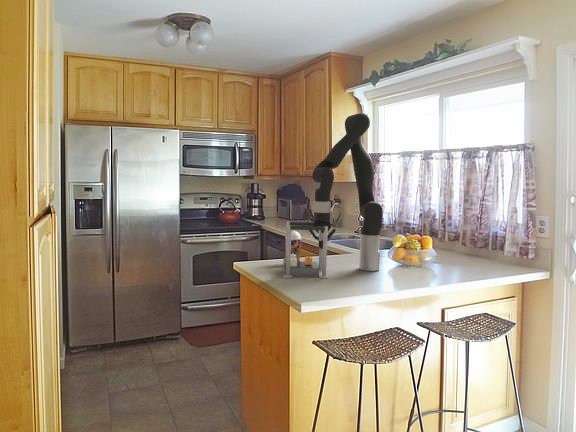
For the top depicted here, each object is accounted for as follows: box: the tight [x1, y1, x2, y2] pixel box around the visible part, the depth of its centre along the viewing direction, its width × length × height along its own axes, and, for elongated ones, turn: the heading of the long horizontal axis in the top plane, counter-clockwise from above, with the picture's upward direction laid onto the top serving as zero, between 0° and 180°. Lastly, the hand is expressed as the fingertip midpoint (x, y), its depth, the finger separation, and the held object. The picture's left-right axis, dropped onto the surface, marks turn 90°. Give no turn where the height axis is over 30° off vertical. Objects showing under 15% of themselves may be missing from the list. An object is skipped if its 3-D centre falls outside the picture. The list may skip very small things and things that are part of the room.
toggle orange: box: [304, 255, 313, 265], centre depth 206 cm, size 3×3×4 cm
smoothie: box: [284, 225, 303, 261], centre depth 223 cm, size 8×8×20 cm
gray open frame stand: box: [282, 221, 329, 280], centre depth 205 cm, size 20×20×23 cm
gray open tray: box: [282, 257, 320, 278], centre depth 206 cm, size 16×14×6 cm
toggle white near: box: [290, 258, 297, 266], centre depth 201 cm, size 3×3×4 cm
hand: (321, 248), depth 206 cm, fingers closed
